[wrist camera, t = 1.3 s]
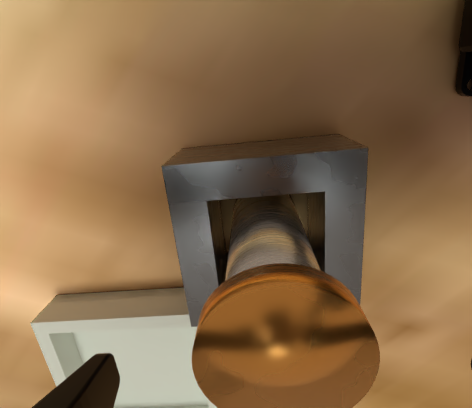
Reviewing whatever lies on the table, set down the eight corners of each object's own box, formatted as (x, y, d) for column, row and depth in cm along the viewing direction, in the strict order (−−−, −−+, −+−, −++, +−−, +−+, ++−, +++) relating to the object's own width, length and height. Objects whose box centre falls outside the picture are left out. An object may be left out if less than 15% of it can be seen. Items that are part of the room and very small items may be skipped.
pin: (304, 169, 16) (386, 280, 7) (306, 247, 17) (374, 426, 8) (218, 177, 16) (177, 293, 7) (227, 252, 18) (204, 431, 8)
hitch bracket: (338, 134, 15) (368, 147, 11) (336, 270, 18) (359, 318, 14) (182, 148, 16) (161, 166, 12) (202, 279, 18) (191, 326, 15)
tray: (211, 285, 19) (206, 313, 16) (228, 401, 22) (226, 438, 20) (56, 294, 19) (30, 323, 17) (96, 405, 23) (79, 441, 20)
